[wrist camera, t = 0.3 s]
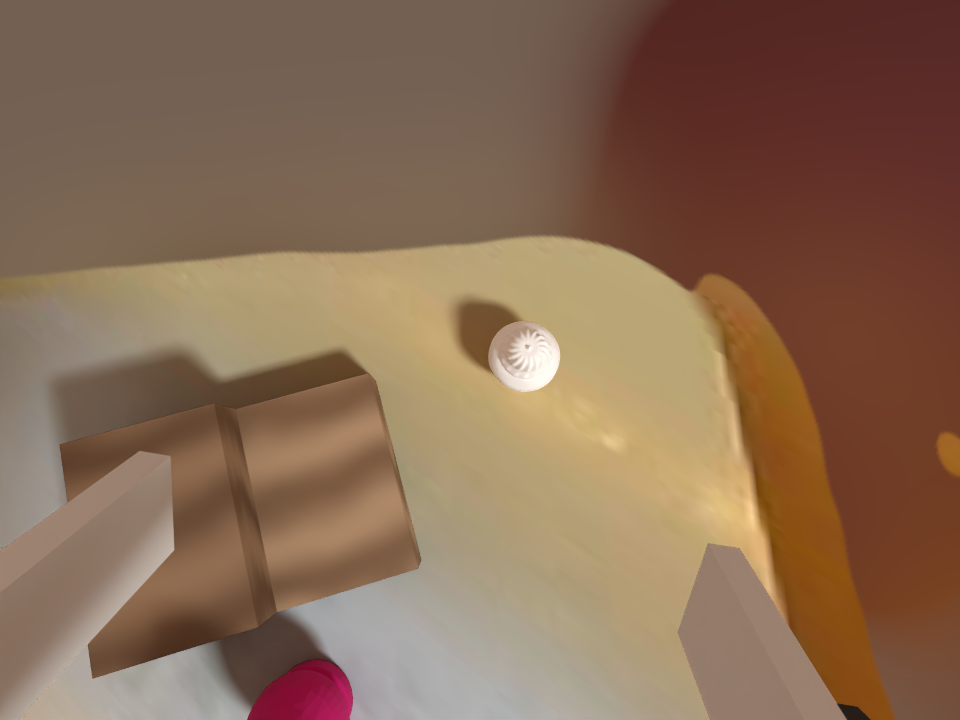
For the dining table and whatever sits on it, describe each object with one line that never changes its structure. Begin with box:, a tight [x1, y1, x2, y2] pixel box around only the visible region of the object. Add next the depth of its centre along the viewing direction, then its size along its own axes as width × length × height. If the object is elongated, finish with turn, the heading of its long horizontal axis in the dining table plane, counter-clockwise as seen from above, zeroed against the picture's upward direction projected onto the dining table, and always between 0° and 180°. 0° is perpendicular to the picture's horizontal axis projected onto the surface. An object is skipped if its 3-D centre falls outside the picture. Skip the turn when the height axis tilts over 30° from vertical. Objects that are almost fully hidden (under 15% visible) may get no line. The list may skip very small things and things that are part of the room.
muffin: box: [488, 321, 560, 392], centre depth 46 cm, size 6×6×7 cm
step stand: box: [60, 373, 421, 678], centre depth 42 cm, size 16×22×8 cm
